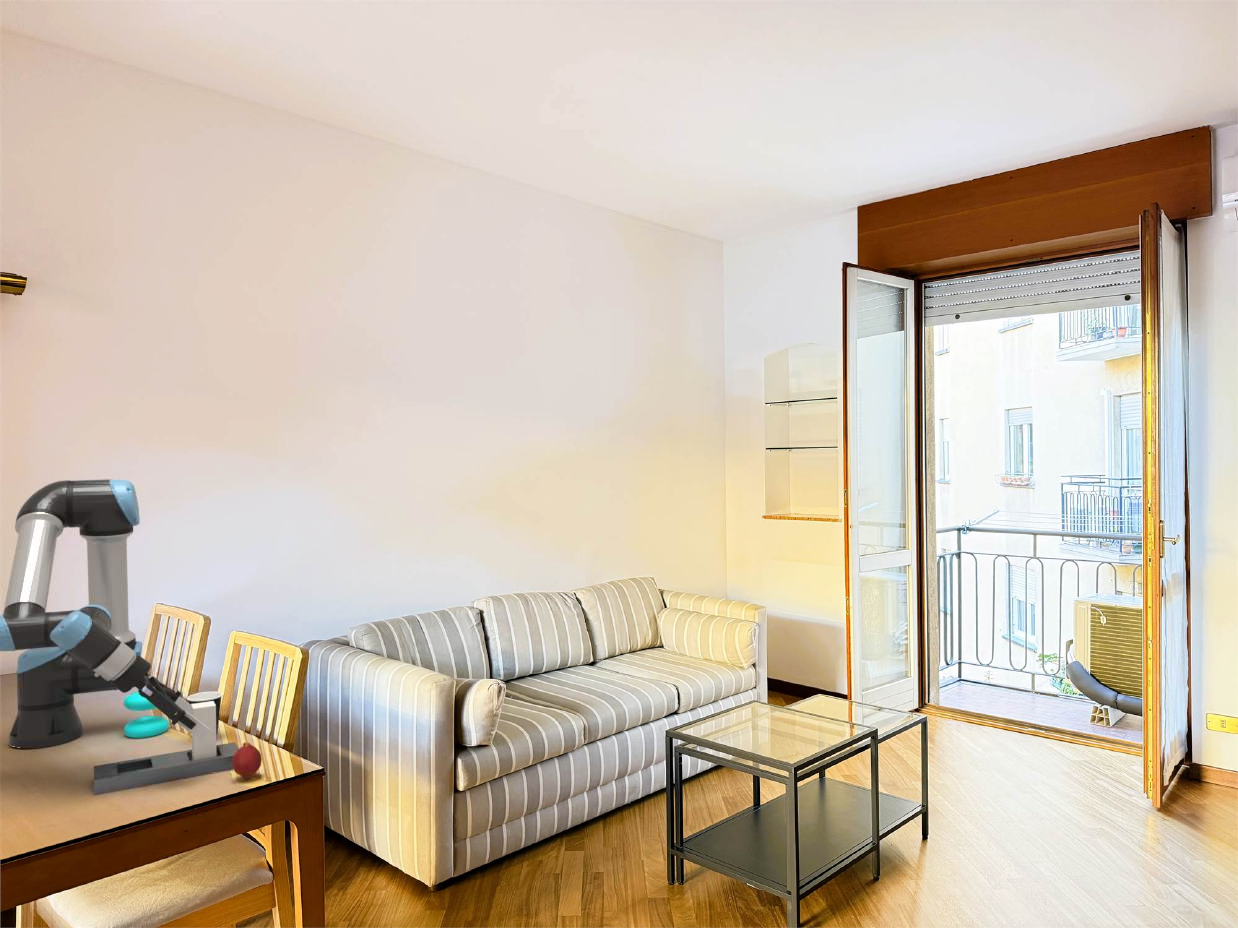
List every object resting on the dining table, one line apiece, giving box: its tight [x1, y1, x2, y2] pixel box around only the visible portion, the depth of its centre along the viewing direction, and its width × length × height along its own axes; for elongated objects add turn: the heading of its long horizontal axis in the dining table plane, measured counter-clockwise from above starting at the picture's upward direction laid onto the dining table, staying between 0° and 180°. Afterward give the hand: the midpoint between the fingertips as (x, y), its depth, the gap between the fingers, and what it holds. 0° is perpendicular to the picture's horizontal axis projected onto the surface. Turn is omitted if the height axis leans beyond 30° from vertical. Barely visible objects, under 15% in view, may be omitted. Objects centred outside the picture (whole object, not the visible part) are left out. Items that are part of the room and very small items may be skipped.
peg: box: [191, 701, 217, 760], centre depth 189 cm, size 4×4×14 cm
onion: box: [232, 741, 263, 780], centre depth 181 cm, size 6×6×8 cm
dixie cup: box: [186, 691, 223, 737], centre depth 208 cm, size 8×8×11 cm
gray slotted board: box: [93, 741, 240, 796], centre depth 185 cm, size 28×10×3 cm, turn 122°
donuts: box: [123, 691, 170, 739], centre depth 214 cm, size 10×10×10 cm
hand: (201, 726), depth 188 cm, fingers open, 13 cm apart
